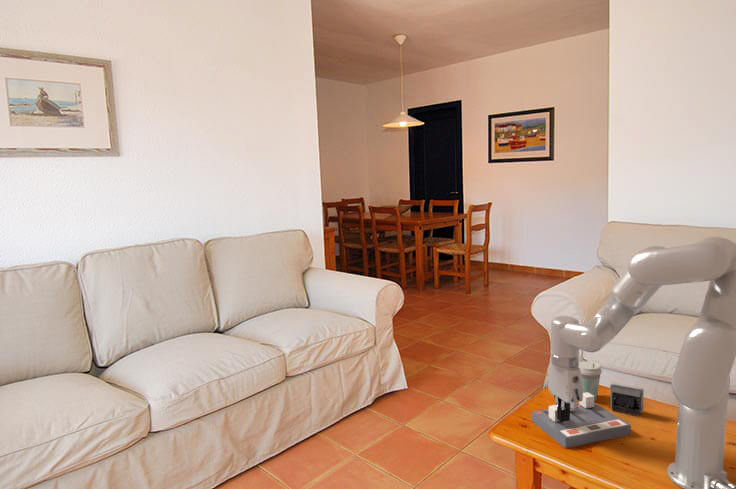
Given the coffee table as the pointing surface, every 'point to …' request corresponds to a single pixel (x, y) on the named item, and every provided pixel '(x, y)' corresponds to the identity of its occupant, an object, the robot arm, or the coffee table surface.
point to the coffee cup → (590, 377)
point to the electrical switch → (626, 399)
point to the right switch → (587, 400)
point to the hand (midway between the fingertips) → (563, 419)
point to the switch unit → (582, 426)
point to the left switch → (553, 413)
